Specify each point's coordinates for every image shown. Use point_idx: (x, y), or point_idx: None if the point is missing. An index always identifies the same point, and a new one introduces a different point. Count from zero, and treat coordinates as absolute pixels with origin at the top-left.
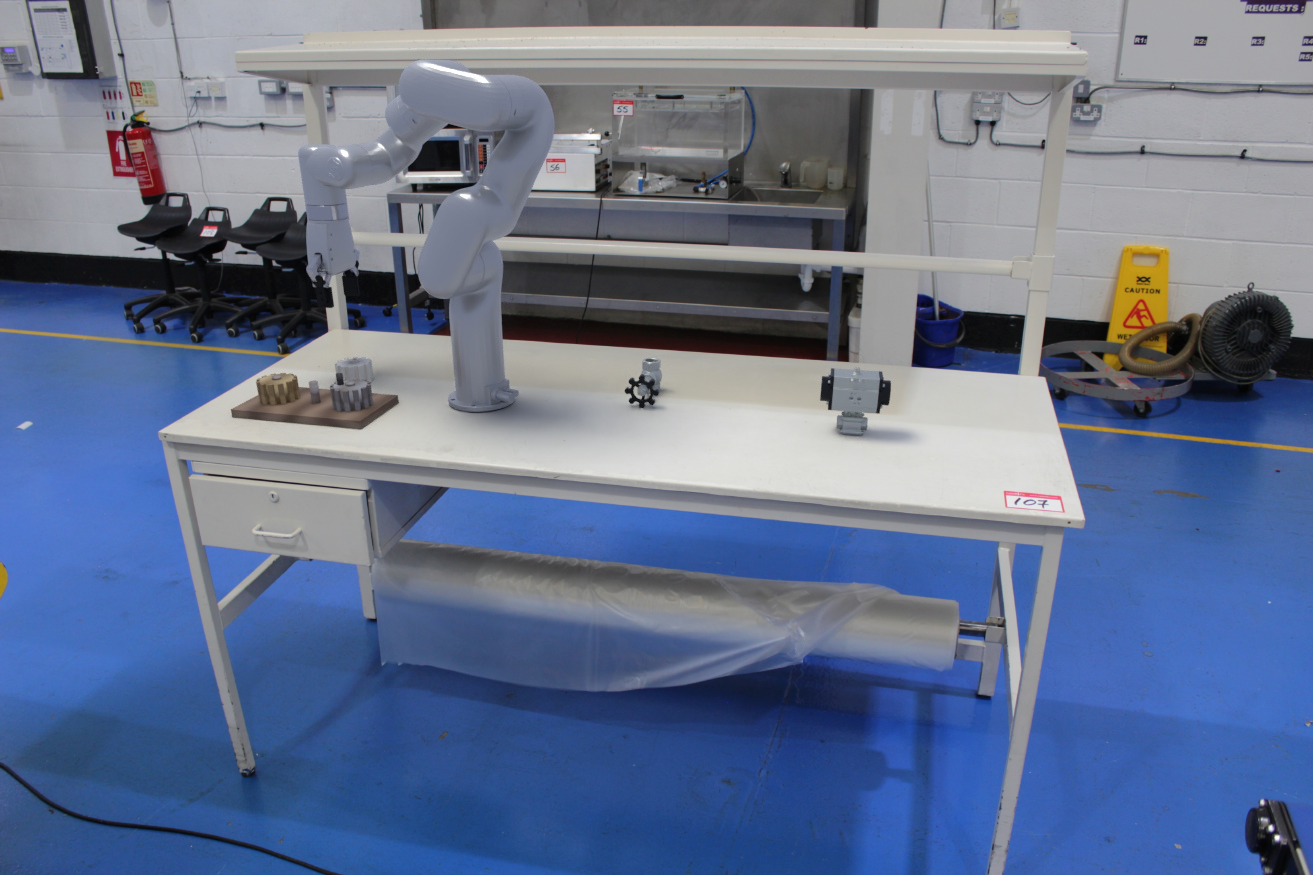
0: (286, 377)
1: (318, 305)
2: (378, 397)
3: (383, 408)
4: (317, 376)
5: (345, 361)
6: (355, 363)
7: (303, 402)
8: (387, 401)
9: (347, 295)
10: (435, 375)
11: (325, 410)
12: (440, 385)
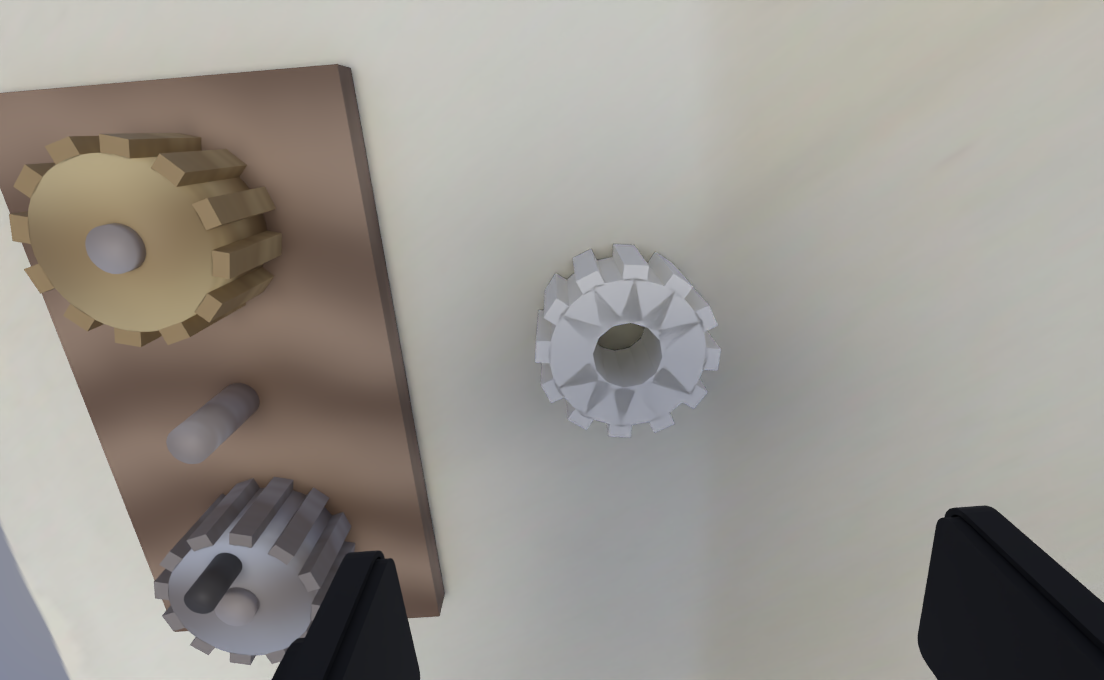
0: (166, 282)
1: (346, 567)
2: None
3: None
4: (627, 99)
5: (626, 312)
6: (656, 339)
7: (212, 354)
8: None
9: (936, 544)
10: (758, 568)
11: (190, 482)
12: (652, 629)
